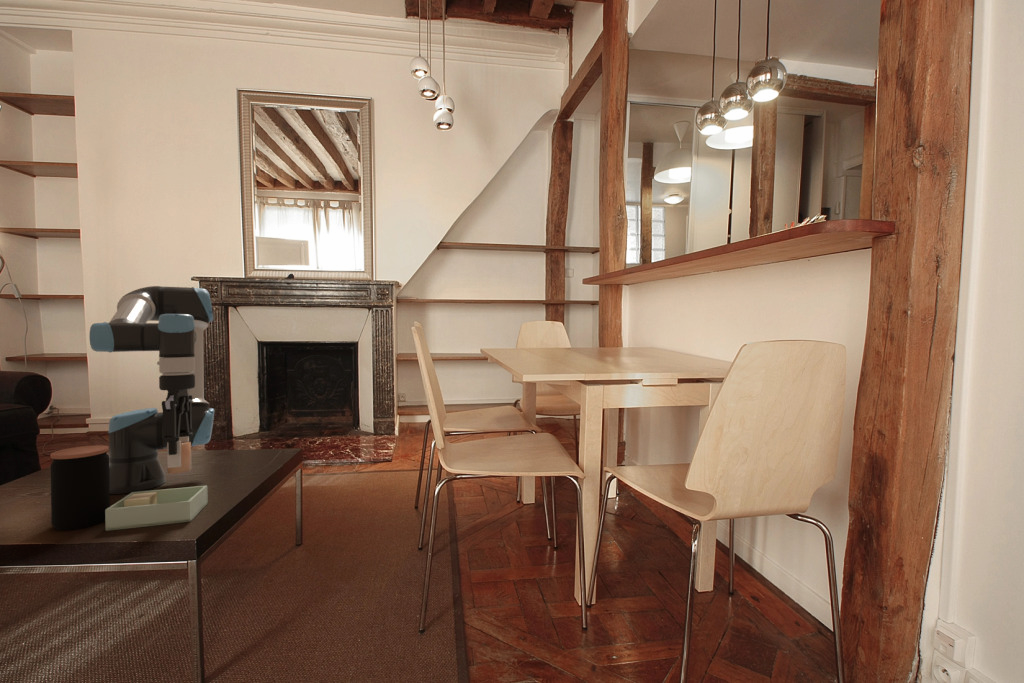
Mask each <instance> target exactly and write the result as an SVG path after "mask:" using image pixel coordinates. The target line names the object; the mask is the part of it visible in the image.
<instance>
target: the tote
mask: <svg viewBox="0 0 1024 683" xmlns="http://www.w3.org/2000/svg"><path fill="white" fill-rule="evenodd" d="M154 492H157V504H151V505H141V506H131V507H124V500H126V499H127V498H129V497H131V496H132V495H134V494H143V493H154ZM208 494H209V493H208V485H196V486H188V487H186V486H185V487H177V488H165V489H163V488H162V489H153V490H152V489H151V490H142V491H137V492H131V493H128V494H127V495H125V496H124V497H123V498H121V499H120V500H118V501H117V502H115V503H114V504H112V505H110V507H109V508H107V509H106V510H105V520H104V521H105V522H104V523H105V531H106V532H107V531H108V532H109V531H116V530H117V531H118V530H128V529H137V528H143V527H155V526H161V525H162V526H163V525H171V524H181V523H182V524H183V523H189V522H192V520H194V518H196V516H197V515H198V514H200V512H201V511H202V510H203V509H204V508H205V507H206V506H207V505H208V502H209V499H208Z"/></svg>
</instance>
